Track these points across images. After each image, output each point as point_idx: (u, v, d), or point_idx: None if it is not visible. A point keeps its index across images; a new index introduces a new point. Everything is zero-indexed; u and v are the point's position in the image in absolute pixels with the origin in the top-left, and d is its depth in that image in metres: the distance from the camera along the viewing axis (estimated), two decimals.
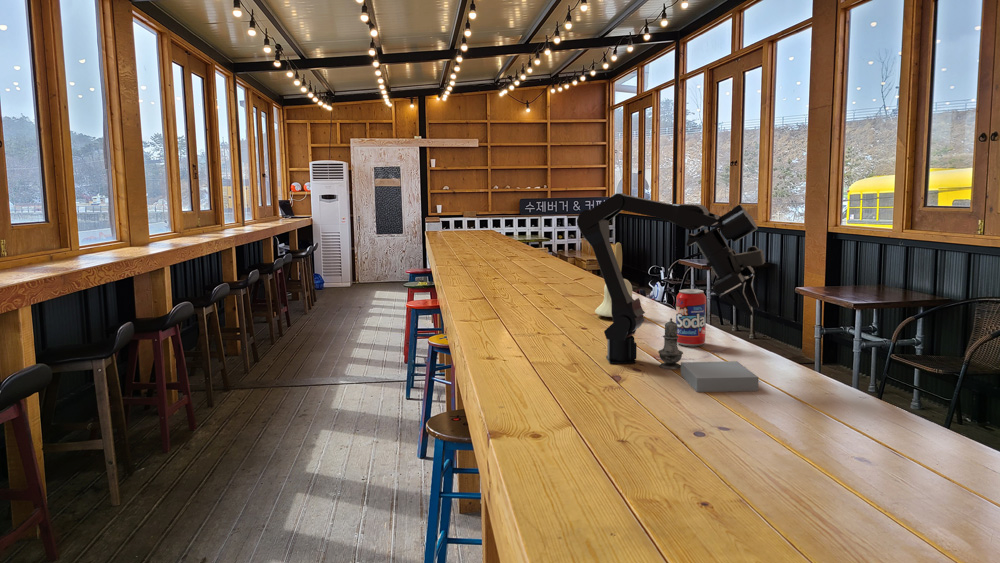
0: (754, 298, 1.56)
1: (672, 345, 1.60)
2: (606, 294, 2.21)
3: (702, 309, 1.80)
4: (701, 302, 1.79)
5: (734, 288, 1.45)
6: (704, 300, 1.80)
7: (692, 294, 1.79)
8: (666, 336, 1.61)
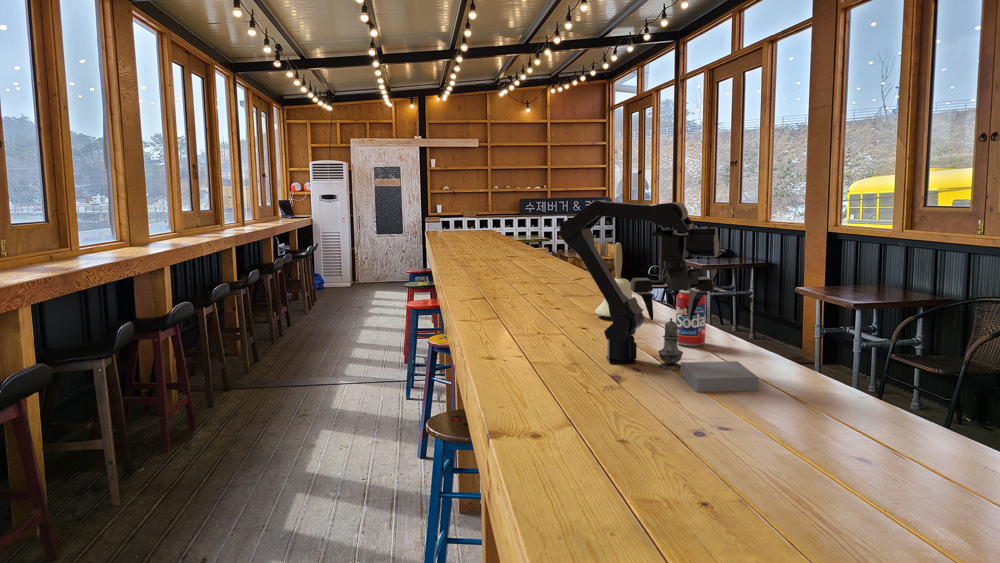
0: (690, 311, 1.60)
1: (672, 345, 1.60)
2: None
3: (702, 309, 1.80)
4: (701, 302, 1.79)
5: (638, 292, 1.59)
6: (704, 300, 1.80)
7: None
8: (666, 336, 1.61)
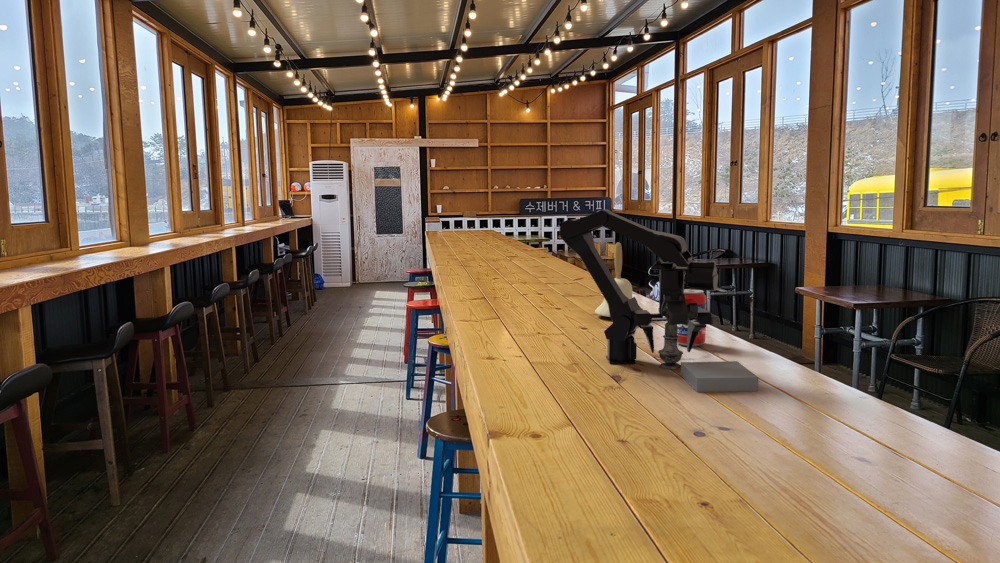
0: (689, 343, 1.61)
1: (672, 345, 1.60)
2: None
3: None
4: (701, 302, 1.79)
5: None
6: (704, 300, 1.80)
7: (692, 294, 1.79)
8: (666, 336, 1.61)
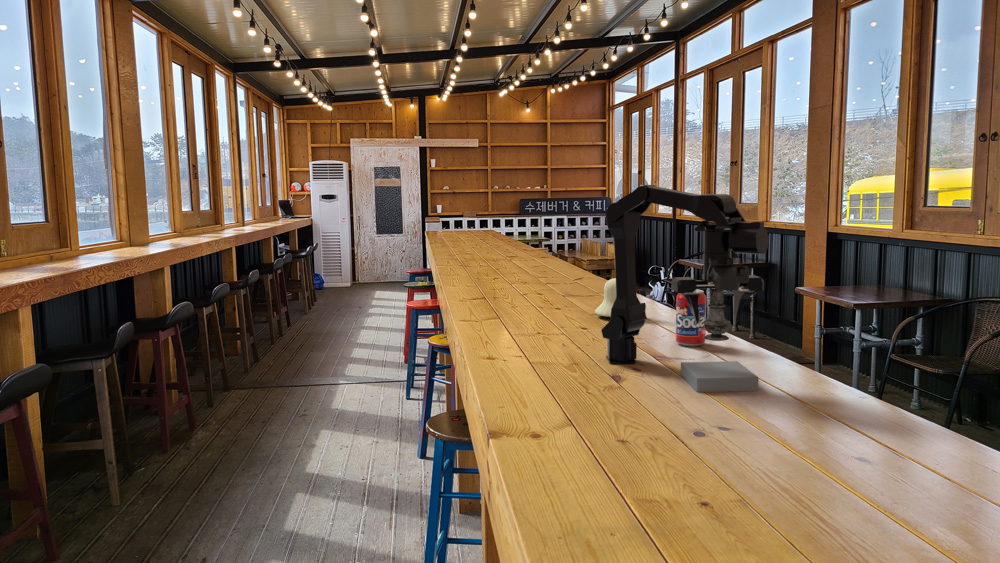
0: (736, 312, 1.47)
1: (720, 314, 1.46)
2: (606, 294, 2.21)
3: (702, 309, 1.80)
4: (701, 302, 1.79)
5: (683, 293, 1.46)
6: (704, 300, 1.80)
7: None
8: (713, 305, 1.46)
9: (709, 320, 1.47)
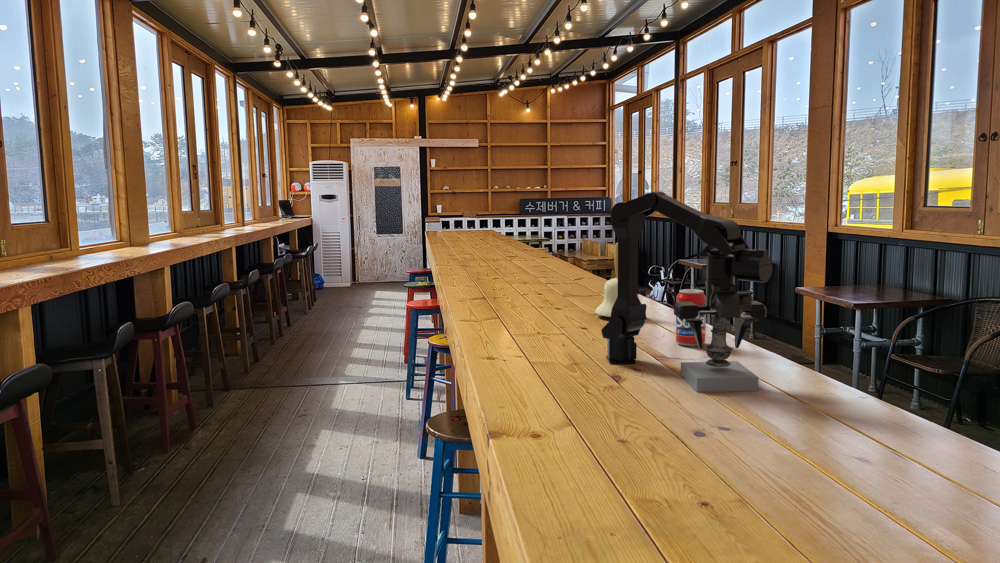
0: (737, 338, 1.47)
1: (725, 340, 1.47)
2: (606, 294, 2.21)
3: None
4: (701, 302, 1.79)
5: (686, 318, 1.46)
6: (704, 300, 1.80)
7: (692, 294, 1.79)
8: (720, 331, 1.46)
9: (716, 347, 1.46)
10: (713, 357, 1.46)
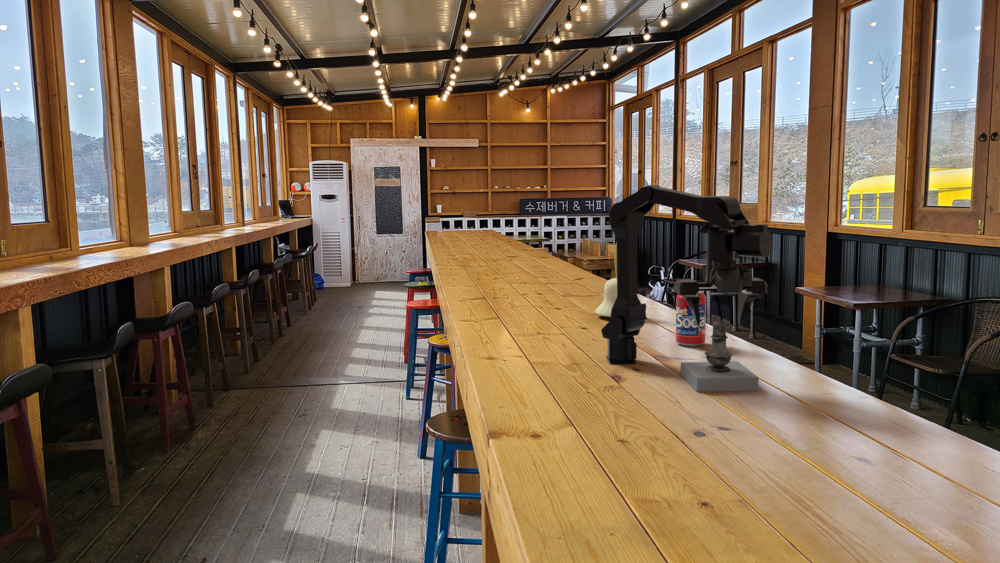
0: (740, 315, 1.46)
1: (713, 345, 1.47)
2: (606, 294, 2.21)
3: (702, 309, 1.80)
4: (701, 302, 1.79)
5: (684, 295, 1.45)
6: (704, 300, 1.80)
7: None
8: None
9: None
10: None
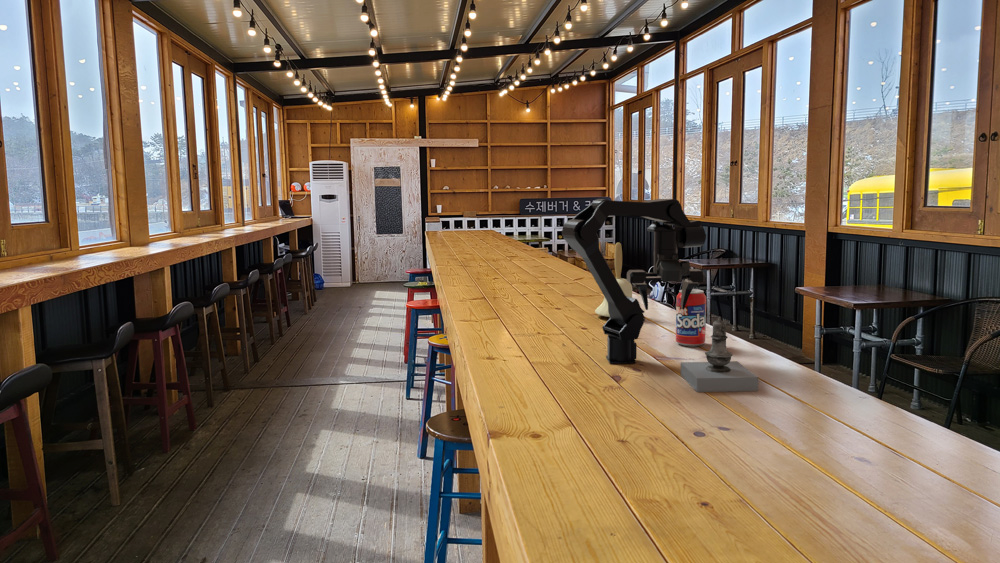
0: (683, 301, 1.71)
1: (713, 345, 1.47)
2: None
3: (702, 309, 1.80)
4: (701, 302, 1.79)
5: (634, 283, 1.70)
6: (704, 300, 1.80)
7: (692, 294, 1.79)
8: None
9: None
10: None
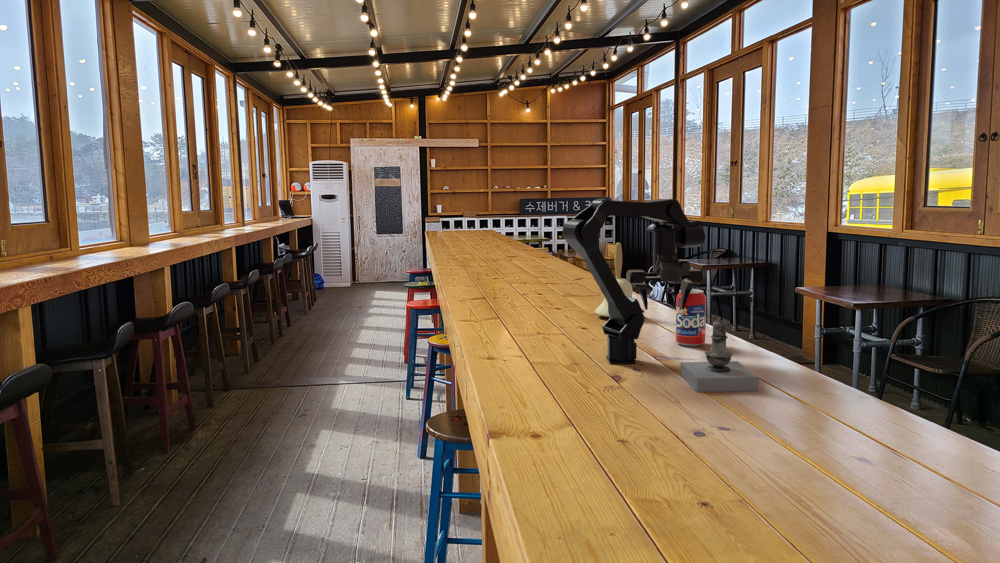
0: (682, 300, 1.71)
1: (713, 345, 1.47)
2: None
3: (702, 309, 1.80)
4: (701, 302, 1.79)
5: (633, 283, 1.70)
6: (704, 300, 1.80)
7: (692, 294, 1.79)
8: None
9: None
10: None
